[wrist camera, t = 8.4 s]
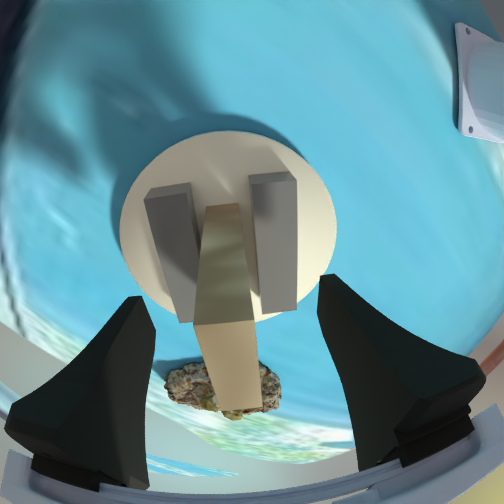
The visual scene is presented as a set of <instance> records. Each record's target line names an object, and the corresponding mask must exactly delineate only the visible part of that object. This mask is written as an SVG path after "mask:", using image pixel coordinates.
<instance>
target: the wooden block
mask: <svg viewBox="0 0 504 504" xmlns="http://www.w3.org/2000/svg"><path fill="white" fill-rule="evenodd" d="M193 327H194V330H195V334H196V337H197V340H198V343H199V346H200V350H201V353H202V356H203V359H204V362H205V365H206V368H207V371H208V374H209V377H210V380H211V383H212V386H213V388H214V391H215V394H216V397H217V400H218V402H219V405H220V408H221V410H222V411H226V410H238V409H249V408H258V407H263V405H262V394H261V383H260V373H259V362H258V351H257V341H256V330H255V319H254V312H253V305H252V298H251V291H250V284H249V277H248V269H247V262H246V255H245V248H244V241H243V233H242V226H241V219H240V211H239V204H238V203H231V204H222V205H213V206H206V211H205V219H204V226H203V234H202V243H201V251H200V260H199V269H198V278H197V288H196V299H195V310H194V321H193Z"/></svg>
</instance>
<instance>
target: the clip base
mask: <svg viewBox="0 0 504 504" xmlns="http://www.w3.org/2000/svg"><path fill="white" fill-rule="evenodd" d="M231 203H238V204H239V211H240V219H241V226H242V233H243V241H244V248H245V255H246V262H247V269H248V277H249V284H250V291H251V298H252V305H253V312H254V319H255V322H258V321H262V320H265V319H268V318H270V317H273V316H275V315H277V314H280V313H282V312H285V311H292V310H297V303H298V302H299V301H300V300H301V299H303V298H304V297H305V296H306V295H307V294H308V293H309V292H310V291H311V290H312V289H313V288H314V287H315V285H316V284H317V283H318V282H319V280H320V275H323V274H324V272H325V271H326V269H327V267H328V265H329V262H330V260H331V258H332V254H333V251H334V247H335V241H336V215H335V209H334V206H333V202H332V199H331V196H330V194H329V192H328V190H327V188H326V186H325V184H324V182H323V181H322V179H321V178H320V177H319V175H318V174H317V172H316V171H315V170H314V169H313V168H312V167H311V166H310V165H309V164H308V163H307V162H306V161H305V160H304V159H303V158H302V157H301V156H299V155H298V154H297V153H295V152H294V151H293V150H292V149H290V148H289V147H287V146H285V145H284V144H282V143H280V142H278V141H276V140H274V139H271V138H269V137H266V136H264V135H260V134H256V133H252V132H247V131H237V130H220V131H211V132H206V133H201V134H197V135H194V136H192V137H189V138H186V139H183V140H181V141H179V142H178V143H176V144H174V145H172V146H170V147H169V148H167V149H166V150H164V151H163V152H162V153H160V154H159V155H158V156H157V157H156V158H155V159H154V160H153V161H152V162H151V163H149V164H148V165H147V167H146V168H145V169H144V170H143V171H142V172H141V173H140V175H139V176H138V177H137V179H136V180H135V181H134V183H133V185H132V186H131V188H130V190H129V192H128V194H127V196H126V199H125V202H124V205H123V208H122V213H121V218H120V243H121V249H122V253H123V257H124V260H125V262H126V265H127V267H128V269H129V271H130V273H131V275H132V276H133V278H134V280H135V281H136V282H137V284H138V285H139V286H140V288H141V289H142V290H143V291H144V292H145V293H146V294H147V295H148V296H149V297H150V298H151V299H152V300H154V301H155V302H156V303H157V304H159V305H160V306H161V307H163V308H165V309H166V310H168V311H170V312H171V313H174V314H176V315H177V317H178V320H179V323H187V322H193V321H194V310H195V299H196V288H197V278H198V269H199V260H200V251H201V243H202V234H203V226H204V219H205V211H206V206H213V205H222V204H231Z"/></svg>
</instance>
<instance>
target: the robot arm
mask: <svg viewBox="0 0 504 504" xmlns="http://www.w3.org/2000/svg"><path fill="white" fill-rule="evenodd" d="M466 32H467V33H466ZM455 33H456V42H457V53H458V67H459V122H458V130H459V132H460V134H462V135H464V136H469V137H474V138H479V139H484V140H489V141H494V142H498V143H502V144H504V42H497V41H495V40H494V39H492V38H490V37H488V36H487V35H485V34H483V33H481V32H479V31H477V30H475V29H474V28H472V27H470V26H468V25H466V24H463V23H461V22H458V23H455ZM317 316H318V319H319V323H320V327H321V331H322V334H323V337H324V339H325V342H326V344H327V347H328V349H329V352H330V354H331V357H332V359H333V362H334V364H335V367H336V369H337V372H338V374H339V377H340V380H341V383H342V386H343V389H344V393H345V397H346V401H347V405H348V410H349V414H350V419H351V423H352V429H353V434H354V440H355V446H356V453H357V460H358V469H359V472H358V473H354V474H351V475H347V476H343V477H340V478H336V479H332V480H328V481H323V482H319V483H314V484H309V485H304V486H298V487H292V488H286V489H279V490H271V491H263V492H252V493H237V494H180V493H165V492H155V491H147V490H146V489H147V488H148V487H149V486H150V485H149V479H148V471H147V463H146V452H145V404H146V395H147V390H148V384H149V379H150V373H151V368H152V363H153V357H154V352H155V338H156V329H155V327H154V325H153V322H152V320H151V318H150V315H149V313H148V310H147V308H146V305H145V303H144V300H143V298H142V296H131V297H128V298H127V299H126V300H125V301H124V302H123V303H122V305H121V306H120V307H119V308H118V309H117V311H116V312H115V313H114V314H113V315H112V317H111V318H110V319H109V320H108V322H107V323H106V324H105V325H104V326H103V328H102V329H101V330H100V331H99V332H98V334H97V335H96V336H95V337H94V338H93V339H92V340H91V341H90V343H89V344H88V345H87V346H86V347H85V348H84V349H83V350H82V351H81V352H80V353H79V354H78V355H77V356H76V357H75V358H74V359H73V360H72V361H71V362H70V363H69V364H68V365H67V366H66V367H65V368H63V369H62V370H61V371H60V372H59V373H57V374H56V375H55V376H54V377H53V378H51V379H50V380H49V381H48V382H46V383H45V384H43V385H42V386H41V387H39V388H38V389H36V390H35V391H33V392H32V393H30V394H28V395H27V396H25V397H23V398H21V399H20V400H18V401H16V402H14V403H12V405H11V408H10V411H9V414H8V417H7V420H6V424H5V427H4V429H5V432H6V433H7V434H8V435H9V436H10V437H11V438H12V439H14V440H15V441H16V442H18V443H19V444H20V445H22V446H23V447H25V448H26V449H27V450H29V451H31V452H32V453H34V455H33V459H32V458H30V457H27V456H25V455H23V454H21V453H18V452H16V451H14V450H12V449H9V451H8V455H7V460H6V464H5V469H4V474H3V479H2V485H1V491H0V495H1V497H3V498H5V499H6V500H8V501H9V502H11V503H13V504H308V503H313V502H318V501H323V500H327V499H331V498H335V497H339V496H343V495H346V494H350V493H354V492H357V491H360V490H363V489H366V488H368V489H367V490H366V491H365V492H362V493H359V494H356V495H353V496H351V497H347V498H345V499H342V500H338V501H334V502H332V504H448V503H450V502H451V501H453V500H454V499H456V498H457V497H459V496H460V495H462V494H463V493H465V492H466V491H467V490H469V489H470V488H472V487H473V486H474V485H475V484H477V483H478V482H479V481H481V480H482V479H483V478H485V477H486V476H487V475H488V474H490V473H491V472H492V471H493V470H495V469H496V468H497V467H498V466H500V465H501V464H502V463H503V462H504V418H503V416H502V414H501V412H500V410H499V408H498V406H497V404H493V405H492V406H490V407H489V408H487V409H486V410H484V411H483V412H481V413H479V414H478V415H477V416H475V417H474V418H472V419H470V417H469V415H468V414H469V413H470V412H471V409H470V406H469V405H468V404H469V402H470V401H471V400H472V399H473V398H474V397H475V396H476V395H477V394H478V393H479V391H480V390H481V389H482V388H483V386H484V384H485V382H486V376H485V374H484V373H483V371H482V369H481V368H480V366H479V365H478V363H477V362H476V360H475V359H472V358H469V357H466V356H462V355H459V354H456V353H453V352H450V351H448V350H446V349H443V348H441V347H438V346H436V345H434V344H432V343H429V342H427V341H426V340H424V339H422V338H420V337H418V336H416V335H414V334H412V333H411V332H409V331H407V330H406V329H404V328H402V327H401V326H399V325H398V324H396V323H394V322H393V321H392V320H390V319H389V318H387V317H386V316H385V315H383V314H382V313H380V312H379V311H378V310H376V309H375V308H374V307H373V306H371V305H370V304H369V303H368V302H366V301H365V300H364V299H363V298H362V297H360V296H359V295H358V294H357V293H356V292H355V291H354V290H352V289H351V288H350V287H349V286H348V285H347V284H346V283H344V282H343V281H342V280H341V279H340V278H339V277H338V276H337V275H335V274H328V275H320V281H319V293H318V305H317Z"/></svg>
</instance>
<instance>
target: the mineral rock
mask: <svg viewBox="0 0 504 504" xmlns="http://www.w3.org/2000/svg"><path fill="white" fill-rule="evenodd" d="M259 373H260V383H261V394H262V405H263V407H258V408H249V409H238V410H226V411H222V410H221V408H220V405H219V402H218V400H217V397H216V394H215V391H214V388H213V386H212V383H211V380H210V377H209V374H208V371H207V368H206V365H205V363H199V364H197V363H191V364H188V365H185V366H184V368H183V369H182V370H179V369H176V370H173V371H171V373H170V375H169V376H167V377H166V378H165V380H164V381H165V382H166V383H165V385H164V388H165V389H167V391H168V397H169V398H170V399H171V400H172V401H175V402H178V404H187V405H188V406H190V405H191V406H192V407H194V408H195V409H199V410H200V409H201V410H202V409H204V410H208V411H215V412H218V411H222V413H223V415H224V417H227V418H228V419H230V420H232V421H233V420H240V419H241V418H242V417H243V415H242V414H245V415H250V414H252V413H255V412H260V411H261V412H263V413H264V412H268V411H270V410H272V409H274V410H277V409H278V408H279V399H281V386H280V383H279V380H280V379H279V377H278V376H277V375H276V374H274V373H272V371H271V370H269V369H267V368H265V367H264V366H262V365H261V364H260V363H259Z"/></svg>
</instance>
